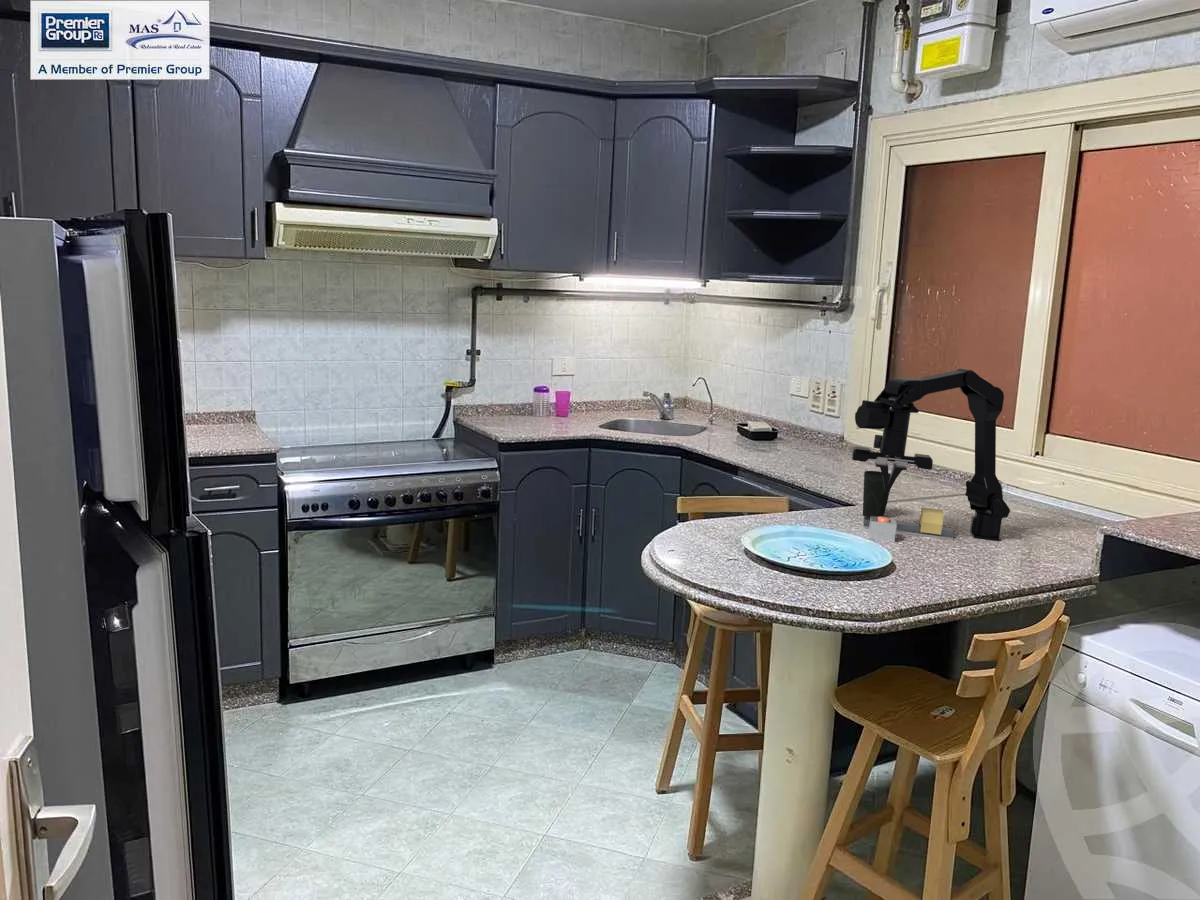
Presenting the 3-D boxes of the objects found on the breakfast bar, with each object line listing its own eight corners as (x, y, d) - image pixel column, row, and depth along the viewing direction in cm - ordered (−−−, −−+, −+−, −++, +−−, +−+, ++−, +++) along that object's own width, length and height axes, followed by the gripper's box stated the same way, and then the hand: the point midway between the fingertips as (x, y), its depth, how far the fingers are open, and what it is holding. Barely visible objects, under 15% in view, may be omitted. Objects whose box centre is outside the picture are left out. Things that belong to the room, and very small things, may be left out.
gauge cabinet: (892, 536, 236) (895, 519, 235) (894, 542, 230) (896, 524, 229) (868, 533, 237) (870, 515, 236) (869, 538, 232) (871, 521, 231)
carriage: (938, 529, 243) (941, 509, 242) (940, 534, 238) (943, 514, 237) (918, 527, 244) (921, 507, 243) (920, 531, 239) (923, 511, 238)
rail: (950, 534, 243) (951, 527, 243) (952, 540, 237) (954, 532, 237) (862, 522, 248) (863, 515, 248) (863, 528, 242) (864, 520, 242)
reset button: (888, 524, 234) (889, 517, 234) (888, 527, 232) (889, 519, 231) (876, 523, 235) (877, 515, 234) (877, 525, 232) (878, 518, 232)
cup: (881, 521, 252) (887, 477, 250) (854, 515, 256) (860, 472, 254) (891, 517, 258) (897, 474, 256) (865, 511, 262) (870, 469, 260)
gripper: (932, 430, 235) (923, 490, 237) (855, 421, 239) (847, 481, 241) (937, 436, 224) (927, 499, 227) (856, 426, 228) (848, 489, 231)
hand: (886, 492), depth 232 cm, fingers closed
